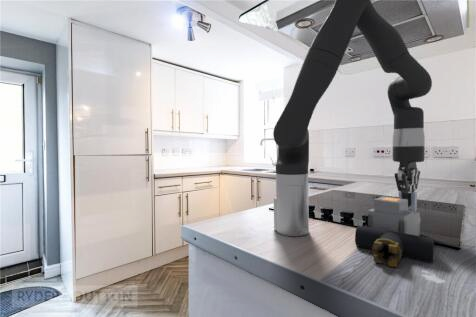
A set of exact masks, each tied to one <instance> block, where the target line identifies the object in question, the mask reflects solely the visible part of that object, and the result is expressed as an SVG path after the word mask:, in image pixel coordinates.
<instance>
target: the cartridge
mask: <svg viewBox="0 0 476 317" xmlns="http://www.w3.org/2000/svg"><path fill="white" fill-rule="evenodd" d="M401 194H402V193H401V192H400V191H398V198H400V199H401ZM417 206H418V193H417V192H416V191H415V192H411V206H410V207H408V211H413V212H417V211H418V210H417V208H418V207H417ZM420 222H421V218H420Z"/></svg>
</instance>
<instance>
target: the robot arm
mask: <svg viewBox="0 0 476 317" xmlns="http://www.w3.org/2000/svg"><path fill="white" fill-rule="evenodd" d="M356 28H357V29H358V30H359V32H360V33H361V35H362V36H363V37H364V39H365V40H366V42H367V43H368V45H369V47H370V48H371V50H372V52H373V54H374V56H375V58H376V60H377V62H378V63H379V65H380V67H381V69H382V71H384V73H386V74H397V75H399V76H397V77H395V78H393V79H392V80H391V81H390V82H389V84H388V87H387V98H388V101H389V104H390V108H391V111H392V114H393V134H392V161H393V162H396V163H399V165H398V168H397V172H394V180H395V183H396V184H395V185H396V188H397V191H398V192H399V191H400V192H401V193H402V194H401V199H408V207H410V206H411V192H416V190H418V188H419V187H418V186H419V181H420V175H421V170H419V168H418V167H417V163H423V162H424V161H425V152H426V150H425V149H426V148H425V143H426V142H425V139H426V138H425V129H424V128H425V126H424V123H425V121H424V118H425V117H424V114H425V113H424V110H423V109H422V108H421V107H419V106H418V107H417V106H412V105H411V102H410V100H413V99H417V98H422V97H424V96H427V94H429V93H430V91H431V90H432V87H433V81H432V77H431V75H430V73H429V72H428V70H427V69H426V68H425V67H424V66H422V64H421V63H419V62H418V60H416V59H415V57H414V56H412V55H411V54H410V52H409V49H408V47H407V46H406V43H405V42H404V40H403V37H402V36H401V34H400V33H399V31H398V30H397V29H396V28H395V27H394V26H393V25H392V24H390V23H389V22H388V21H387V20H386V19H385V18H383V16H381V15H380V13H379V12H378V11H377V10H376V8H375V7H374V4H372V1H371V0H335V2H334V4H333V6H332V8H331V10H330V13H329V15H328V16H327V17H326V19H325V21H324V22H323V23H322V25H321V27H320V29H319V30H318V32H317V34H316V35H315V37H314V39H313V41H312V42H311V45H310V46H309V48H308V50H307V54H306V55H305V57H304V59H303V62H302V64H301V68H300V70H299V73H298V76H297V78H296V81H295V84H294V86H293V89H292V92H291V95H290V97H289V98H288V101H287V103H286V105H285V107H284V109H283V111H282V113H281V114H280V116H279V117H278V119H277V122H276V123H275V126H274V128H273V132H272V134H273V135H272V136H273V140H274V143H275V144H276V145H277V150H278V151H277V160H276V163H275V187H276V188H275V192H276V193H275V194H276V197H274V198H273V228H274V231H277V233H278V234H281V235H282V236H283V235H284V236H289V237H302V236H306V235H308V234H309V231H310V230H309V227H310V226H309V225H310V224H309V219H310V218H309V215H310V214H309V213H310V212H309V162H310V134H309V125H310V122H311V119H312V116H313V114H314V112H315V109H316V107H317V104H318V103H319V102H320V100H321V98H322V96H324V94H325V93H326V91H327V90H328V89H329V87H330V85H331V83H332V82H333V80H334V78H335V77H336V75H337V73H338V69H339V67H340V65H341V63H342V61H343V59H344V57H345V56H344V55H345V53H346V51H347V49H348V47H349V44H350V42H351V39H352V37H353V34H354V31H355V30H356Z"/></svg>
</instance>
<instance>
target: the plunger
mask: <svg viewBox="0 0 476 317" xmlns="http://www.w3.org/2000/svg"><path fill="white" fill-rule="evenodd" d="M384 197H385V198H382V199H380V200H387V201H394V202H398V201H400V200H401V199H395V198H396V197H392V198H387V197H388V196H384Z"/></svg>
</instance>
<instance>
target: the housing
mask: <svg viewBox="0 0 476 317" xmlns="http://www.w3.org/2000/svg"><path fill="white" fill-rule="evenodd" d="M385 197H387V198H393V197H391V196H384V195H383V196H380V197H378V198H374V199H373V207H372V208H371V209H368V210H367V227H369V228H375V229H381V230H387V231H393V232H398V233H404V234H410V235H416V236H420V233H421V232H420V228H421V226H420V225H421V221H420V219H421V212H419V211H416V212H413V211H408V199H401V200H400V201H398V202H394V201H387V200H380V199H382V198H385ZM394 198H395V199H400V198H399V197H397V198H396V197H394Z"/></svg>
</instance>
